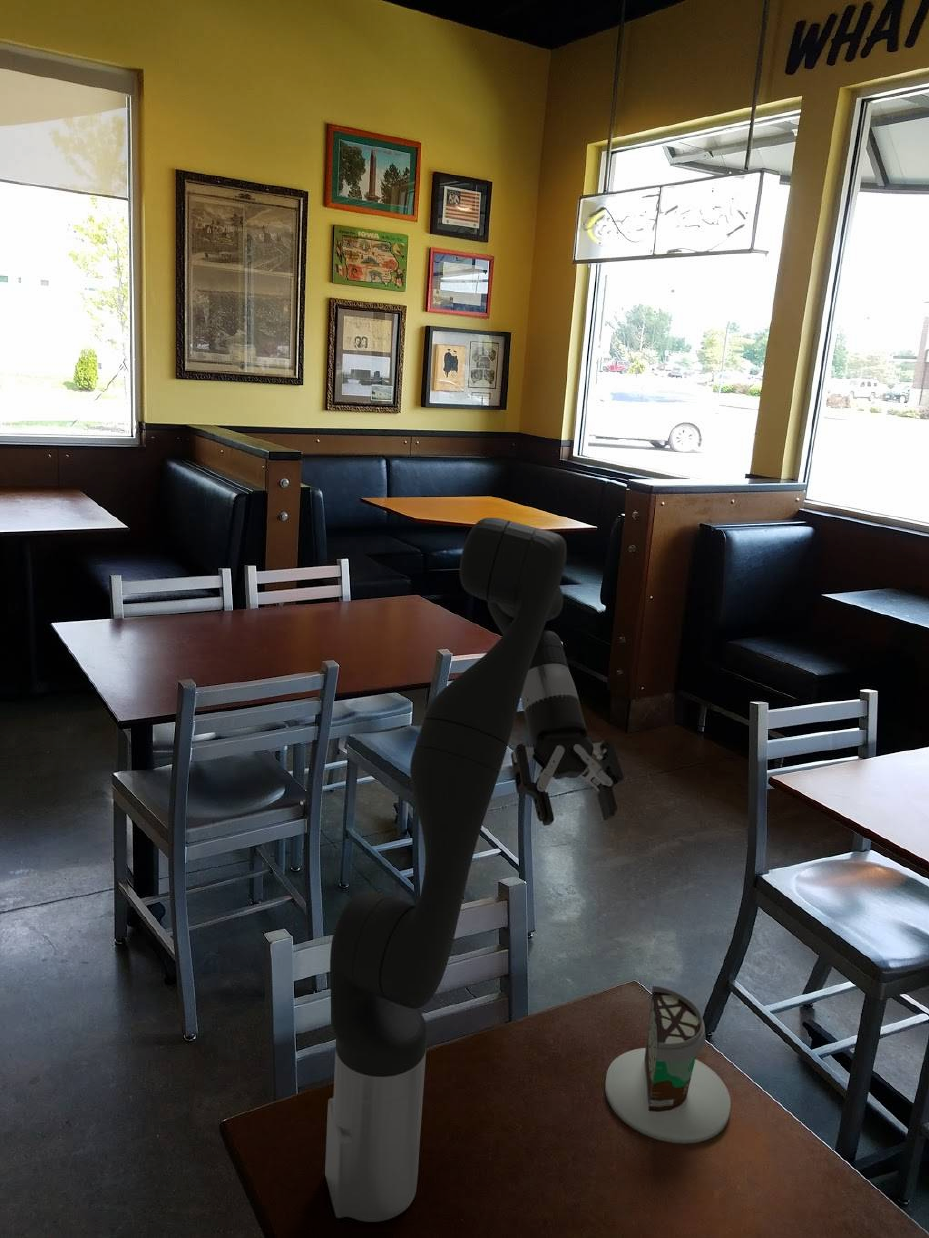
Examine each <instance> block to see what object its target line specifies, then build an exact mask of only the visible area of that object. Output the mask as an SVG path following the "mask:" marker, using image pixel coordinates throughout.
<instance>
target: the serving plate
mask: <svg viewBox="0 0 929 1238" xmlns="http://www.w3.org/2000/svg"><path fill="white" fill-rule="evenodd" d="M645 1050H646V1047H641V1048H636V1049H632V1050H629V1051H626V1052H624V1053H622V1054H620V1055H618V1056H617V1057H616V1058H615V1059H613V1061H612V1062H611V1063H610V1065H609V1066H608V1069H607V1071H606V1076H605V1077H606V1078H605V1084H604V1086H605V1087H604V1088H605V1089H604V1092H605V1095H606V1098H607V1101H608V1103H609V1105H610V1107H611V1109H612V1110H613V1112H614V1113H615V1115H617V1116H618V1117H619V1118H620V1119H621V1120H622V1121H623V1122H624V1123H625V1124H626V1125H628V1126H630V1127H631V1128H632V1129H634V1130H636V1131H637V1132H639V1133H641V1134H643V1135H645V1136H648V1137H649V1138H652V1139H655V1140H658V1141H663V1142H667V1143H674V1144H685V1145H686V1144H695V1143H701V1142H705V1141H707V1140H709V1139H712V1138H714V1137H716V1136H717V1135H718V1134H720V1133H721V1132H722V1131H723V1130H724V1129H725V1127H726V1125H727V1124H728V1121H729V1118H730V1111H731V1105H732V1104H731V1097H730V1093H729V1090H728V1088H727V1086H726V1084H725V1083H724V1082H723V1080H722V1079H721V1077H720V1076H719V1075H718V1074H717V1073H716V1072H715V1071H714V1070H712V1068H710V1067H709V1066H707V1065H706V1064H704V1063H703V1062H702V1061H700V1060H698V1059H697V1058H696V1059H695V1063H694V1067H693V1072H692V1076H691V1080H690V1085H689V1089H688V1093H687V1097H686V1100H685V1101H684V1102H683V1103H682V1104H681V1105H680V1106H679V1107H677V1108H674V1109H672V1110H669V1111H661V1112H655V1111H648V1098H647V1085H646V1072H645Z"/></svg>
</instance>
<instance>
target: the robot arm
mask: <svg viewBox="0 0 929 1238" xmlns="http://www.w3.org/2000/svg"><path fill="white" fill-rule="evenodd" d="M567 552H568V551H567V542H566V540H565V539H564V537H563V536H561V535H560V534H558V533H555V532H552V531H549V530H546V529H543V528H539V527H538V528H537V527H534V526H531V525H527V524H523V523H520V522H515V521H512V520H508V519H505V518H499V517H484V518H481V519H479V520H478V521H477V522H476V523H474V525H473V526H472V528H470V530H469V533H468V535H467V537H466V540H465V543H464V545H463V549H462V552H461V556H460V562H459V580H460V584H461V587H462V588H463V589H464V590H465V591H466V592H467V593H468V594H470V595H472V596H473V597H476V598H478V599H480V600H483V601H486V602H487V608H488V611H489V613H490V615H491V618H492V619H493V620H494V622H495V624H496V625H497V627H498V629H499V630H500V632H501V633H502V635H501V638H500V639H499V640H498V641H496V643H495V644H494V645H493V646H492V647H491V648H490V649H489V650H488V651H487V652H486V653H485V654H484V655H483V656H482V657H481V658H480V659H478V660H477V661H476V662H474V663H473V664H472V665H471V666H469V667H468V668H466V670H464V671H463V672H462V673H461V674H460V675H458V676H457V677H455V679H453V680H452V681H451V682H450V683H449V684H448V685H447V686H445V687H444V688H442V690H441V691H440V692H439V693H438V694H437V695H436V696H435V697H434V698H433V699H432V701H431V702H430V704H429V706H428V707H427V710H426V712H425V715H424V719H423V721H422V724H421V728H420V731H419V734H418V737H417V739H416V742H415V746H414V749H413V752H412V755H411V760H410V764H409V766H410V769H409V770H410V772H409V773H410V783H411V788H412V793H413V798H414V802H415V803H414V804H415V806H416V810H417V815H418V818H419V822H420V823H419V824H420V826H421V833H422V836H423V837H422V838H423V844H424V856H425V857H424V858H425V859H424V860H425V861H424V873H423V879H422V885H421V886H422V887H421V890H420V895H419V898H418V902H417V905H416V904H413V903H410V902H407V901H404V900H402V899H399V898H395V897H392V896H389V895H387V894H384V893H382V892H377V891H373V890H366V891H362V892H359V893H357V894H355V895H353V896H352V897H351V899H349V901H347V903H346V904H345V905H344V906H343V908H342V910H341V912H340V913H339V916H338V918H337V921H336V923H335V926H334V930H333V934H332V939H331V946H330V954H329V955H330V957H329V958H330V959H329V964H330V965H329V978H330V979H329V982H330V985H329V986H330V1026H331V1030H332V1033H333V1035H334V1038H335V1056H334V1058H335V1059H334V1075H333V1076H334V1077H333V1080H334V1081H333V1097H331V1098H329V1099H328V1100H327V1115H326V1116H327V1119H326V1142H325V1164H324V1165H325V1166H324V1176H325V1180H326V1183H327V1187H328V1191H329V1194H330V1199H331V1203H332V1208H333V1210H334V1214H335V1215H334V1216H335V1218H337V1219H341V1218H350V1219H351V1218H352V1219H355V1220H357V1221H360V1222H366V1223H367V1222H368V1223H374V1222H375V1223H377V1222H383V1221H388V1220H391V1219H393V1218H396V1217H397V1216H399V1215H400V1214H402V1213H403V1212H405V1211H406V1210H407V1209H408V1208H409V1207H410V1206H411V1204H412V1202H413V1200H414V1199H415V1197H416V1193H417V1184H418V1179H419V1178H418V1177H419V1157H420V1156H419V1155H420V1144H421V1143H420V1142H421V1130H422V1129H421V1127H422V1115H423V1100H424V1088H425V1087H424V1085H425V1084H424V1083H425V1073H426V1071H425V1070H426V1054H427V1041H428V1040H427V1039H428V1028H427V1022H426V1020H425V1017H424V1015H423V1014H422V1012H421V1011H420V1010H419V1009H421V1008H423V1007H424V1006H426V1005H427V1004H428V1003H429V1002H430V1001H431V1000H432V999H433V997H434V995H435V994H436V992H437V990H438V989H439V986H440V985H441V982H442V980H443V977H444V975H445V971H446V969H447V966H448V962H449V959H450V955H451V951H452V948H453V943H454V939H455V936H456V935H455V934H456V931H457V927H458V924H459V923H458V922H459V916H460V913H461V909H462V904H463V900H464V895H465V893H466V892H465V891H466V886H467V882H468V877H469V874H470V869H471V865H472V861H473V857H474V854H475V851H476V847H477V843H478V841H479V836H480V833H481V830H482V827H483V823H484V820H485V817H486V814H487V811H488V808H489V806H490V802H491V799H492V796H493V795H494V794H493V793H494V790H495V788H496V784H497V782H498V779H499V776H500V772H501V770H502V766H503V763H504V759H505V756H506V753H507V749H508V745H509V743H510V739H511V734H512V730H513V727H514V723H515V720H516V717H517V712H518V709H519V705H520V702H521V707H522V710H523V713H524V719H525V722H526V726H527V731H528V734H529V739H530V742H531V743H532V747H531V746H529V747H528V746H526V745H524V744H522V743H519V744H517V746H516V747H515V748H514V750H512V752H511V754H510V757H511V765H512V769H513V770H512V771H513V777H514V783H515V789H516V793H518V794H519V795H521V796H524V795H526V796H527V795H528V796H530V797H531V798H532V799H533V802H534V803H533V804H534V808H535V813H536V816H537V817H536V818H537V819H538V821H539V822H542V825H543V826H550V825H552V824H553V823H554V821H555V817H554V812H553V809H552V808H553V807H552V803H551V799H550V795H549V792H548V791H547V792H546V789H547V787H548V785H549V783H550V781H551V779H552V778H554V780H561V779H564V778H569V779H576V778H578V777H580V778H581V779H582V780H583V781H584V782H585V783H587V784H588V783H589V784H590V785H591V786H592V787H593V788H594V789H595V790H596V791H597V792H598V793H597V795H596V796H597V799H598V802H599V806H600V810H601V814H602V818H603V820H604V821H611V820H612V819H614V817H615V816H616V812H618V805H617V802H616V798H615V793H614V789H613V788H616V787H617V786H618V785H619V784H620V783H621V782H622V781H624V780H625V779H624V778H625V777H624V773H623V771H622V768H621V764H620V761H619V758H618V755H617V753H616V750H615V747H614V744H613V742H612V741H613V740H611V739H609V738H605V739H604V740H603V741H602V742H596V743H595V742H594V743H592V742H591V741H590V739H589V737H588V734H587V726H586V723H585V722H586V721H585V719H584V718H585V717H584V714H583V711H582V707H581V703H580V700H579V699H580V698H579V695H578V692H577V689H576V688H577V687H576V685H575V682H574V680H573V677H572V674H571V672H570V669H569V665H568V661H567V657H566V655H565V650H564V646H563V642H562V640H561V638H560V637H559V635H558V634H557V633H555V632H554V631H551V630H546V629H544V628H545V625H546V623H547V622H548V621H551V620H553V619H555V618H557V617H558V616H559V615H560V614H561V611H562V609H563V606H564V595H563V592H562V588H561V586H560V584H561V581H562V578H563V575H564V574H563V573H564V570H565V567H566V566H565V565H566V561H567V555H568V553H567ZM593 754H594V755H595V756H596V759H597V760H599V761H600V764H601V765H600V764H599V763H598V762H597V761H596V760H595V759H594V758H593V757H592V755H593ZM531 759H532V760H533V761H535V762H536V764H538V765H539V766H540V767H541V769H540V771H539V772H538V775H537V777H536V779H535V782H534V781H532V776H531V772H530V766H529V763H530V761H531ZM601 766H602V767H601ZM587 768H588V769H587Z"/></svg>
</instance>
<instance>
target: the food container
mask: <svg viewBox="0 0 929 1238" xmlns="http://www.w3.org/2000/svg"><path fill="white" fill-rule="evenodd" d="M650 998H651V999H650V1007H649V1008H650V1009H649V1016H648V1025H647V1033H646V1042H645V1048H646V1050H645V1072H646V1085H647V1098H648V1111H655V1112H661V1111H669V1110H672V1109H674V1108H677V1107H679V1106H680V1105H681V1104H682V1103H683V1102H684V1101H685V1100H686V1097H687V1093H688V1089H689V1085H690V1080H691V1076H692V1072H693V1067H694V1063H695V1059H696V1060H697V1055H698V1054H699V1053H700V1052H701V1051H702V1050H703V1048H704V1046H705V1044H706V1039H707V1038H706V1028H705V1022H704V1018H703V1016H702V1013H701V1011H700V1009H699V1008H698V1007H697V1006H696V1005H695V1004H694V1003H693V1002H692V1001H691V1000H690V999H689V998H687V997H685V996H684V995H682V994H681V993H679V992H677V991H674V990H672V989H668V988H667V987H663V986H662V987H661V986H659V985H652V989H651V995H650Z"/></svg>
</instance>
